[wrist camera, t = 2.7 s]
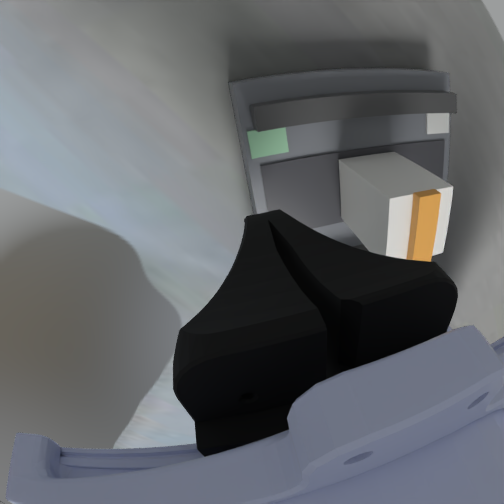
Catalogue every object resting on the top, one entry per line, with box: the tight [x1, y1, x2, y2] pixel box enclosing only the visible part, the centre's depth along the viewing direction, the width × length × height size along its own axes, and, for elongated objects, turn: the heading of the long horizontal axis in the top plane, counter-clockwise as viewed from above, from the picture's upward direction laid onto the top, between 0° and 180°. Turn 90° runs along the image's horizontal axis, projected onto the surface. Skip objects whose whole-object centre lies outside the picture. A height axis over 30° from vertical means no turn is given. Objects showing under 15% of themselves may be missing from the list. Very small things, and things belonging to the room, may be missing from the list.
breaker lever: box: [339, 152, 453, 262], centre depth 12 cm, size 3×3×5 cm
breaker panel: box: [228, 68, 456, 251], centre depth 15 cm, size 11×11×3 cm
